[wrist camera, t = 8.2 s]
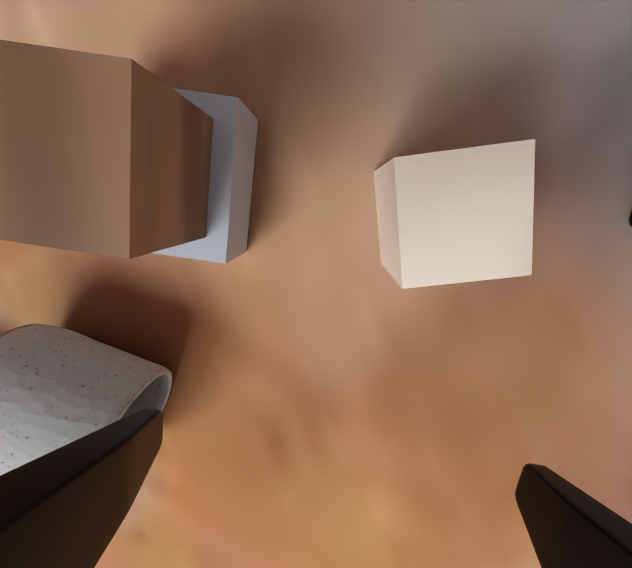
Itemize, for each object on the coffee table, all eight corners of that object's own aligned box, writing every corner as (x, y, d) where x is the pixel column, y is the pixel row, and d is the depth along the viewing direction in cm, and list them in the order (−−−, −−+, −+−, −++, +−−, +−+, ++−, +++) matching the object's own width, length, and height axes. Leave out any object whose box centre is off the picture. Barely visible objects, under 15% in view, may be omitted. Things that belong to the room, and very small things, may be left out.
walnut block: (213, 118, 14) (131, 59, 8) (205, 237, 15) (129, 258, 9) (95, 101, 14) (-70, 29, 8) (96, 221, 15) (-47, 232, 9)
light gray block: (258, 120, 18) (238, 96, 14) (246, 251, 19) (225, 263, 16) (127, 101, 18) (70, 73, 14) (126, 234, 19) (75, 241, 16)
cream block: (468, 159, 18) (535, 138, 12) (469, 252, 19) (531, 275, 13) (373, 171, 18) (394, 157, 12) (380, 262, 19) (402, 288, 14)
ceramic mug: (58, 298, 21) (-96, 356, 13) (186, 347, 21) (105, 429, 14) (31, 435, 23) (-110, 547, 16) (145, 475, 24) (59, 603, 16)
